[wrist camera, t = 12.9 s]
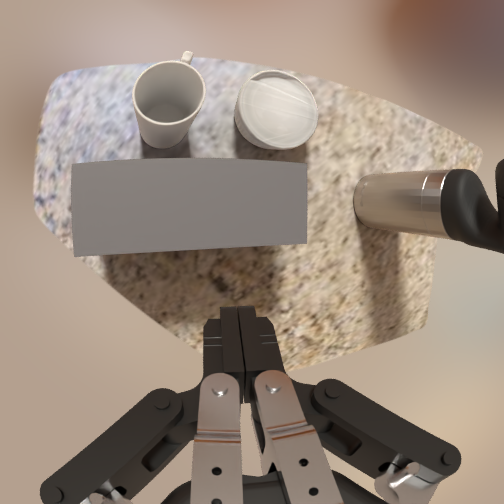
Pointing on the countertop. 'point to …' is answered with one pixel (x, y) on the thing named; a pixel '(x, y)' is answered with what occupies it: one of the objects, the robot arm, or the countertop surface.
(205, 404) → the robot arm
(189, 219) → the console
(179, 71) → the mug
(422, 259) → the countertop surface
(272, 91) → the ramekin
